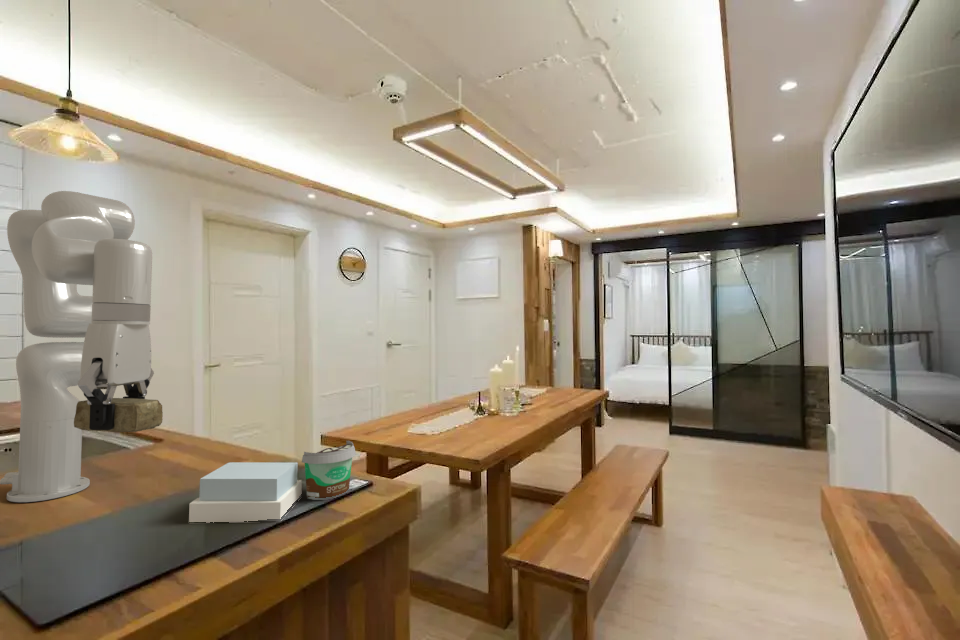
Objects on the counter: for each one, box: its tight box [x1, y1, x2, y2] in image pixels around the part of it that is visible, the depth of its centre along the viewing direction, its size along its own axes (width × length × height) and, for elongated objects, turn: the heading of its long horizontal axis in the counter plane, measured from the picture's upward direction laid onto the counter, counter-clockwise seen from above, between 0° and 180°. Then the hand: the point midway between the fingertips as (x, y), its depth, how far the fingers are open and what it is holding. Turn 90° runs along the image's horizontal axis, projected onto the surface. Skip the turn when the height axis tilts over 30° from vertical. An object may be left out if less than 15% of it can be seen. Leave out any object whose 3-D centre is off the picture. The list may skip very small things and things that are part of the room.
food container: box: [301, 440, 356, 498], centre depth 94 cm, size 12×6×10 cm, turn 148°
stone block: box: [74, 397, 164, 433], centre depth 73 cm, size 6×12×5 cm, turn 85°
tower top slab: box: [199, 461, 298, 501], centre depth 87 cm, size 14×10×4 cm
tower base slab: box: [188, 479, 303, 524], centre depth 86 cm, size 16×12×4 cm
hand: (118, 423), depth 73 cm, fingers closed on stone block, 6 cm apart
